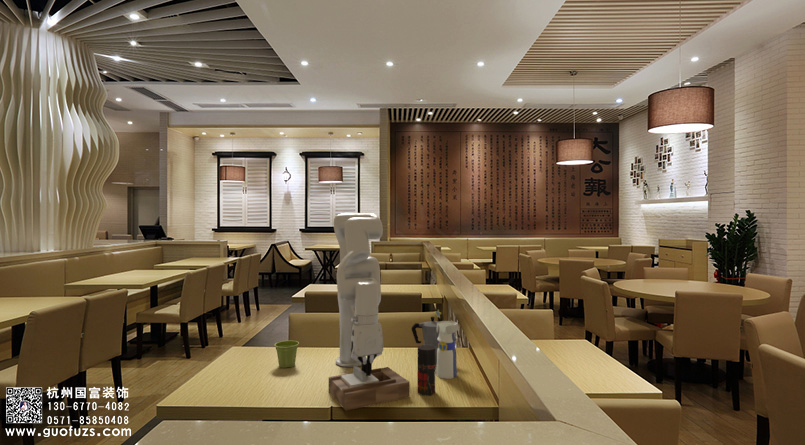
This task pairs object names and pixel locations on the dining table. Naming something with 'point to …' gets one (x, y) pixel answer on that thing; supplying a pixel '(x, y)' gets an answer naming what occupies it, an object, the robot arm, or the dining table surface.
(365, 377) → the panel
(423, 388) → the deodorant
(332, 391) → the socket block
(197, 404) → the dining table surface
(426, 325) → the coffeepot
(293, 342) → the plant pot
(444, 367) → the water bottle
